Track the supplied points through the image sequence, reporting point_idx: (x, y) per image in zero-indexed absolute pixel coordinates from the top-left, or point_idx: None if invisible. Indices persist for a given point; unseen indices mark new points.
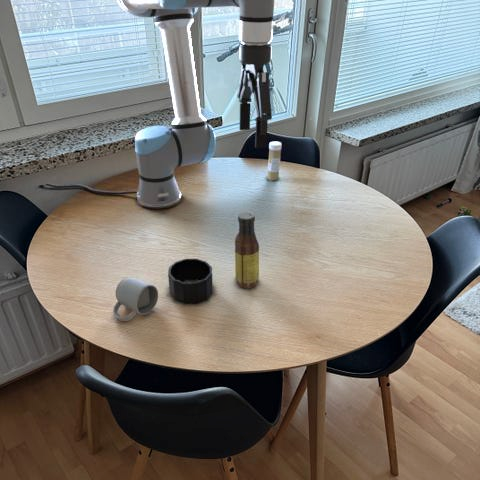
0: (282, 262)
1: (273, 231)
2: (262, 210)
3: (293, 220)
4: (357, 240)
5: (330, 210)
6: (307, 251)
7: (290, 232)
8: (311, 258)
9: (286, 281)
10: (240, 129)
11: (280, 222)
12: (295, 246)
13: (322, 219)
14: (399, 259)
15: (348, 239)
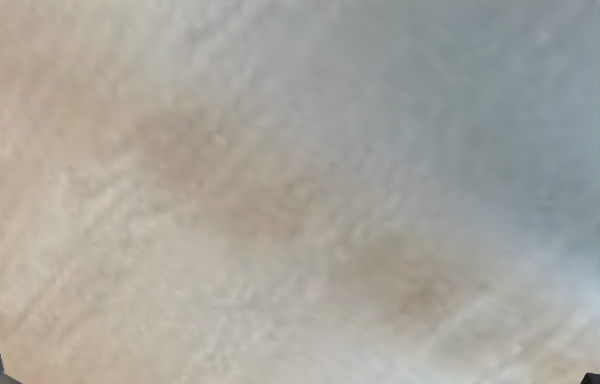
0: (133, 71)
1: (353, 145)
2: (530, 184)
3: (394, 244)
4: (196, 335)
5: (396, 368)
6: (179, 183)
7: (319, 195)
8: (134, 173)
9: (11, 25)
10: (588, 382)
11: (404, 199)
12: (223, 164)
13: (354, 322)
14: (76, 363)
15: (210, 319)
